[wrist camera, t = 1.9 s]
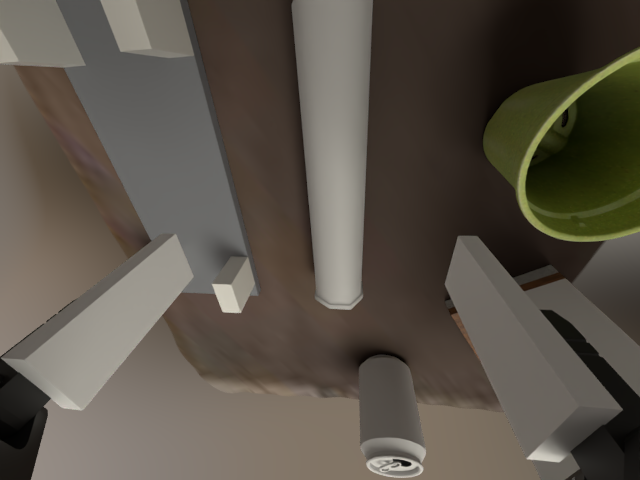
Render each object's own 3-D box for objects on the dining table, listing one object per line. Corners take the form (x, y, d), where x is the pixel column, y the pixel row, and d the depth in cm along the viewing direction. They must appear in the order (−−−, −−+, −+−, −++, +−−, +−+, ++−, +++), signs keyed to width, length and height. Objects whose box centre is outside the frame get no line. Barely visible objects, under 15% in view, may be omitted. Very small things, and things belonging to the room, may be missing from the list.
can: (416, 373, 37) (440, 480, 27) (372, 383, 40) (378, 483, 30) (396, 346, 34) (414, 454, 24) (349, 358, 37) (348, 459, 27)
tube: (265, -42, 13) (306, 301, 26) (364, -74, 11) (354, 316, 24) (311, -13, 17) (326, 271, 30) (390, -33, 15) (369, 282, 28)
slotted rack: (171, -63, 15) (93, -124, 11) (260, 289, 31) (245, 325, 27) (23, -40, 17) (-101, -85, 12) (181, 286, 33) (153, 320, 28)
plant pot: (448, 93, 18) (512, 101, 11) (612, 19, 15) (850, -39, 8) (467, 202, 22) (522, 260, 15) (598, 160, 19) (744, 208, 12)
